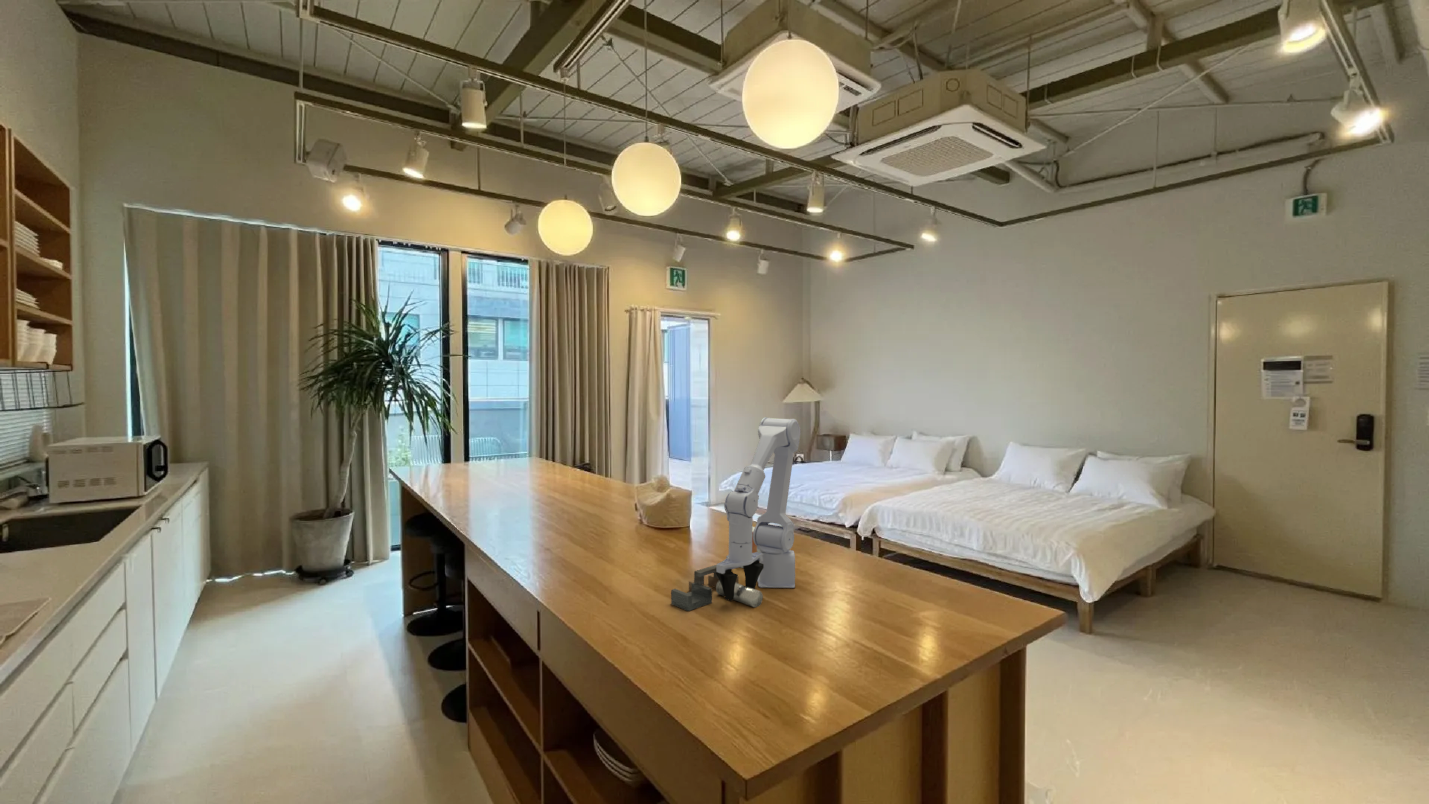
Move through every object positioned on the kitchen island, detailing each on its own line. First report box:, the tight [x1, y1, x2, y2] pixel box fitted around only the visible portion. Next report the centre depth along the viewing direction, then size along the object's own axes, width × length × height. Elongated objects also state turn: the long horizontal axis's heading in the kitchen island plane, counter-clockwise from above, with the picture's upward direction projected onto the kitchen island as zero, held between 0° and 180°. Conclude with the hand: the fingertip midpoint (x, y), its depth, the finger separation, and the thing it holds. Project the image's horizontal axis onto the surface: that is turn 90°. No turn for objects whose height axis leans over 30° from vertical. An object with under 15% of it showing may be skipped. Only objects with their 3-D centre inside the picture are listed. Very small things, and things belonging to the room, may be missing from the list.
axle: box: [715, 580, 764, 608], centre depth 146 cm, size 12×4×4 cm, turn 45°
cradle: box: [670, 583, 713, 612], centre depth 143 cm, size 6×8×4 cm
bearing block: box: [688, 564, 740, 592], centre depth 154 cm, size 6×12×6 cm, turn 135°
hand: (739, 595), depth 145 cm, fingers open, 7 cm apart
